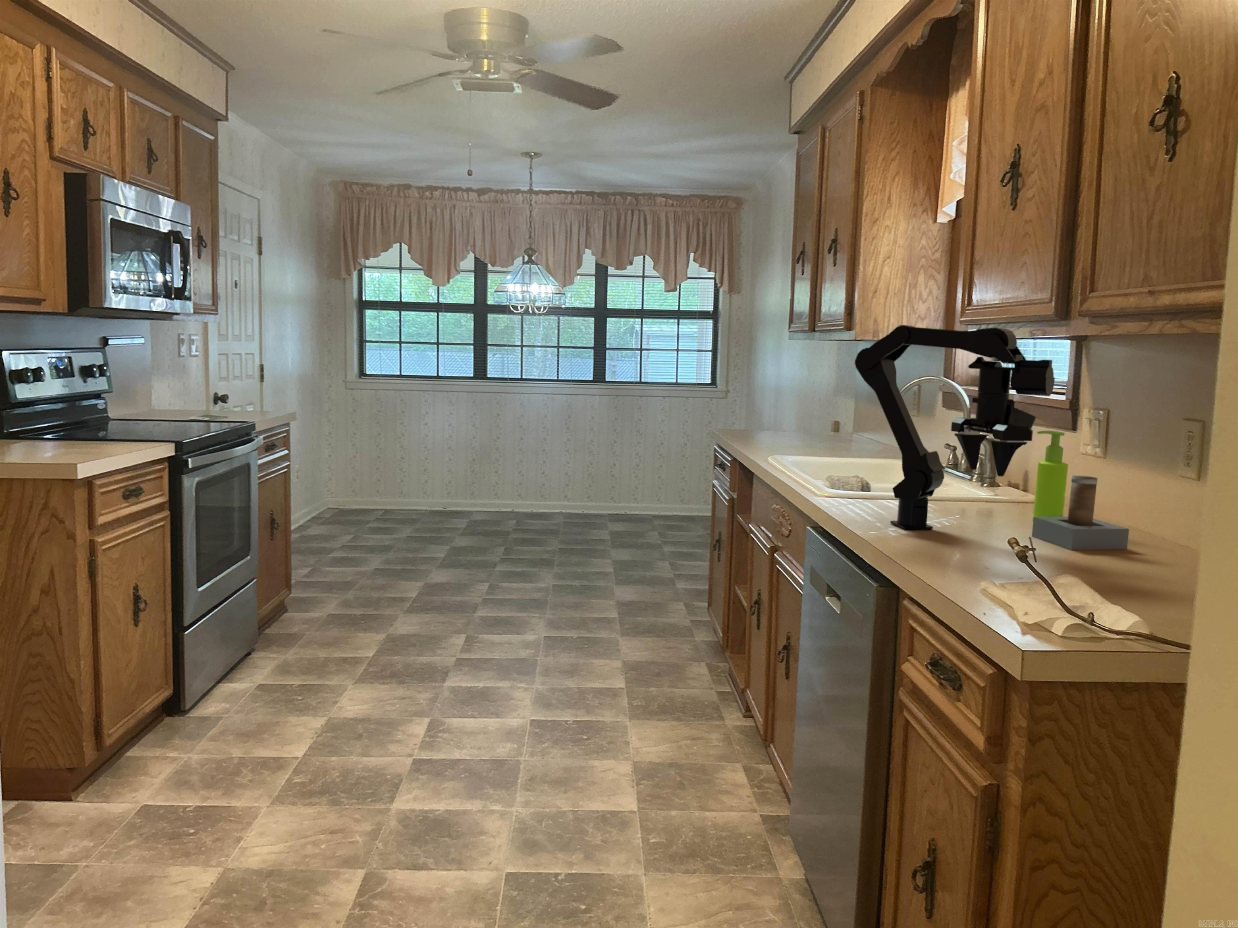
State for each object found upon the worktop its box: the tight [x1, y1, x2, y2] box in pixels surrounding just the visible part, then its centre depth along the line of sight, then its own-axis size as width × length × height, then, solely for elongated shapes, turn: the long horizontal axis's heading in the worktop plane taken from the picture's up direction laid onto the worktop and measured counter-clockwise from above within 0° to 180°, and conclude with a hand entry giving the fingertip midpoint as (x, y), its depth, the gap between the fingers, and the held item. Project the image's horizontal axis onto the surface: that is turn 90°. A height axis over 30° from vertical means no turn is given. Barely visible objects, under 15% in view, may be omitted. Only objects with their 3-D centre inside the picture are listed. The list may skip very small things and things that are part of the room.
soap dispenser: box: [1032, 430, 1069, 519], centre depth 201 cm, size 6×7×20 cm
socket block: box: [1031, 516, 1130, 551], centre depth 182 cm, size 12×12×4 cm
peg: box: [1067, 475, 1098, 526], centre depth 181 cm, size 4×4×13 cm
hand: (986, 472), depth 182 cm, fingers open, 9 cm apart
